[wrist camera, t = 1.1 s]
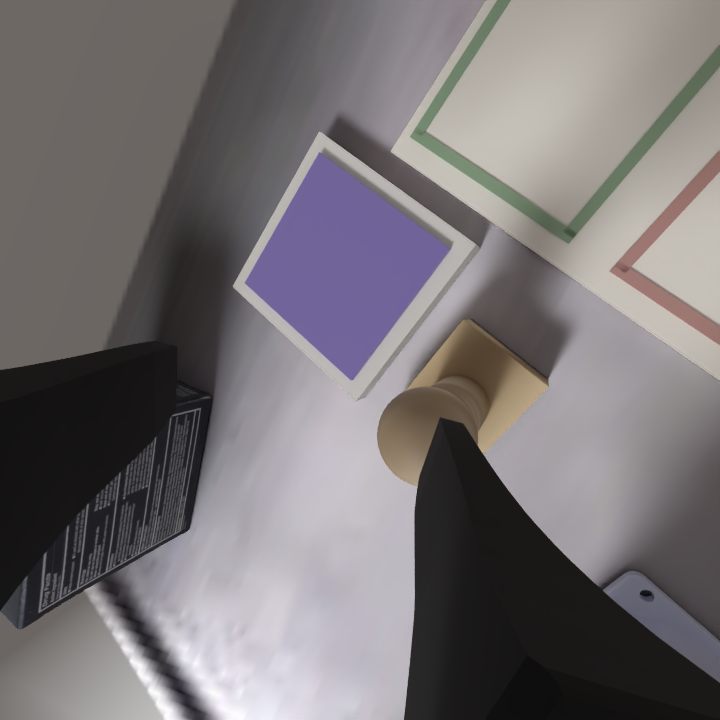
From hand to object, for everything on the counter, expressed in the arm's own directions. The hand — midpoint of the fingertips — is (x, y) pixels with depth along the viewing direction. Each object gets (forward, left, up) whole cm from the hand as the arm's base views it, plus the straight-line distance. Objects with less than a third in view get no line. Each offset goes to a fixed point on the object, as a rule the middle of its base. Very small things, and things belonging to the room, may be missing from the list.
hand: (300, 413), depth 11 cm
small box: (+10, +16, -12) cm, 23 cm away
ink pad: (+6, -2, -11) cm, 13 cm away
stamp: (-3, -1, -11) cm, 12 cm away
